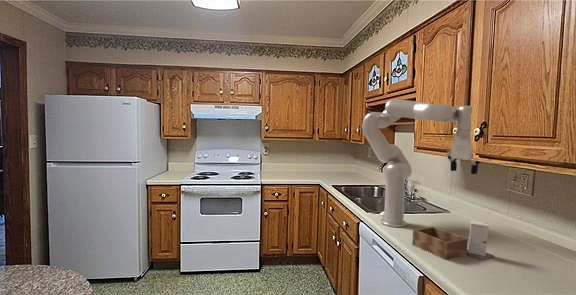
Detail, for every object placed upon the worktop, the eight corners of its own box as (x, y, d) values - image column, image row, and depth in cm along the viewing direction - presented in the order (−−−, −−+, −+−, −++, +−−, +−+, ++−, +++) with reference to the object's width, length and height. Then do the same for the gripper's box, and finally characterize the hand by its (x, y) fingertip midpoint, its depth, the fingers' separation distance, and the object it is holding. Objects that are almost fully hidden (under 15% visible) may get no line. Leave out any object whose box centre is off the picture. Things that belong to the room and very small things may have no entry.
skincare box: (468, 253, 123) (470, 223, 122) (468, 249, 127) (469, 220, 126) (486, 256, 120) (488, 225, 119) (485, 252, 124) (488, 222, 123)
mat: (461, 252, 125) (461, 250, 125) (474, 249, 129) (474, 247, 129) (481, 260, 118) (481, 258, 118) (494, 256, 122) (494, 255, 122)
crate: (412, 245, 132) (413, 230, 132) (432, 241, 137) (432, 226, 137) (446, 259, 118) (447, 243, 117) (466, 254, 123) (467, 238, 123)
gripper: (442, 133, 144) (440, 170, 145) (479, 134, 129) (477, 175, 130) (453, 133, 148) (451, 169, 149) (490, 134, 132) (488, 174, 133)
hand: (463, 172), depth 139 cm, fingers open, 9 cm apart
